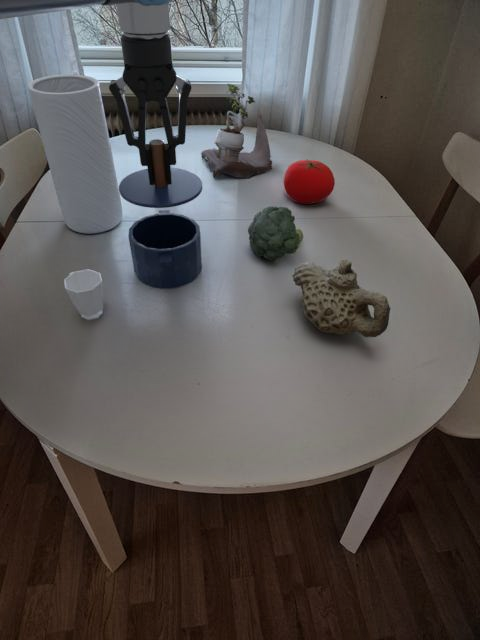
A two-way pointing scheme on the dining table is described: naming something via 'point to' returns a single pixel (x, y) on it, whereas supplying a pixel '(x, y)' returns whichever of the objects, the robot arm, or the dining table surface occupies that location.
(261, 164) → the potted plant
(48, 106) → the vase
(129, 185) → the pot lid
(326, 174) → the tomato
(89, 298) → the cup
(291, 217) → the vegetable
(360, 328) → the teapot
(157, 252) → the pot
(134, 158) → the dining table surface
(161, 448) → the dining table surface
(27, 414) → the dining table surface
